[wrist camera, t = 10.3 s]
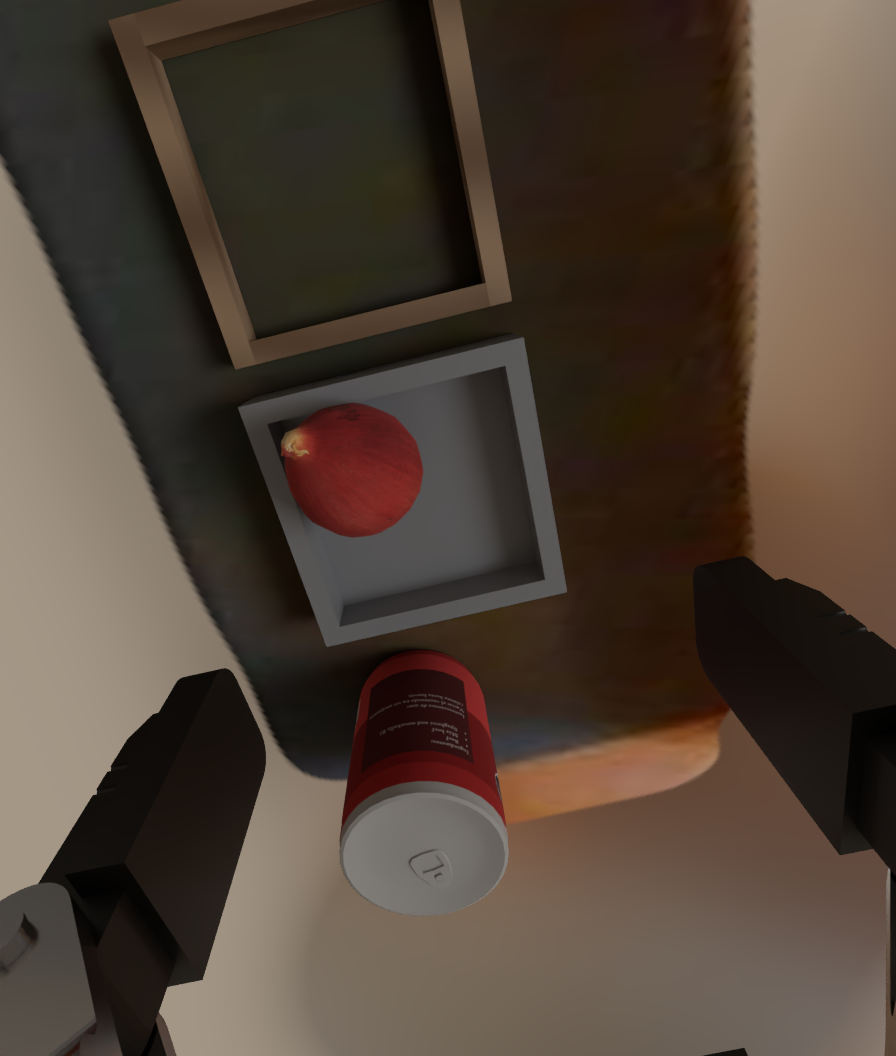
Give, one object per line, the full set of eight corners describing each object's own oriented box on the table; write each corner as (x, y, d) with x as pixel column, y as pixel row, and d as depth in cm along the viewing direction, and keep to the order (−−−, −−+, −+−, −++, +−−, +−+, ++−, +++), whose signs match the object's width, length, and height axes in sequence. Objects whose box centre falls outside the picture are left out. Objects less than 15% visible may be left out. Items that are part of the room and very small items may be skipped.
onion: (350, 474, 31) (227, 413, 24) (436, 420, 29) (326, 337, 22) (372, 571, 29) (241, 531, 22) (468, 520, 26) (354, 458, 20)
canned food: (418, 767, 38) (419, 940, 28) (332, 694, 35) (299, 856, 25) (509, 703, 36) (546, 862, 26) (426, 622, 34) (430, 763, 24)
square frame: (126, 37, 23) (108, 20, 21) (445, -50, 22) (447, -73, 21) (244, 365, 28) (235, 369, 26) (507, 300, 27) (512, 300, 26)
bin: (255, 396, 28) (237, 407, 26) (512, 333, 28) (523, 337, 25) (334, 617, 33) (326, 646, 30) (554, 566, 33) (567, 592, 30)
